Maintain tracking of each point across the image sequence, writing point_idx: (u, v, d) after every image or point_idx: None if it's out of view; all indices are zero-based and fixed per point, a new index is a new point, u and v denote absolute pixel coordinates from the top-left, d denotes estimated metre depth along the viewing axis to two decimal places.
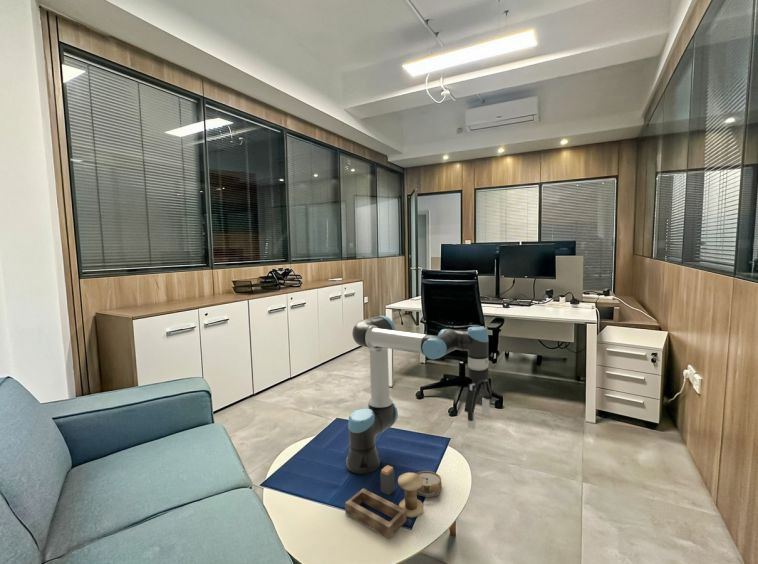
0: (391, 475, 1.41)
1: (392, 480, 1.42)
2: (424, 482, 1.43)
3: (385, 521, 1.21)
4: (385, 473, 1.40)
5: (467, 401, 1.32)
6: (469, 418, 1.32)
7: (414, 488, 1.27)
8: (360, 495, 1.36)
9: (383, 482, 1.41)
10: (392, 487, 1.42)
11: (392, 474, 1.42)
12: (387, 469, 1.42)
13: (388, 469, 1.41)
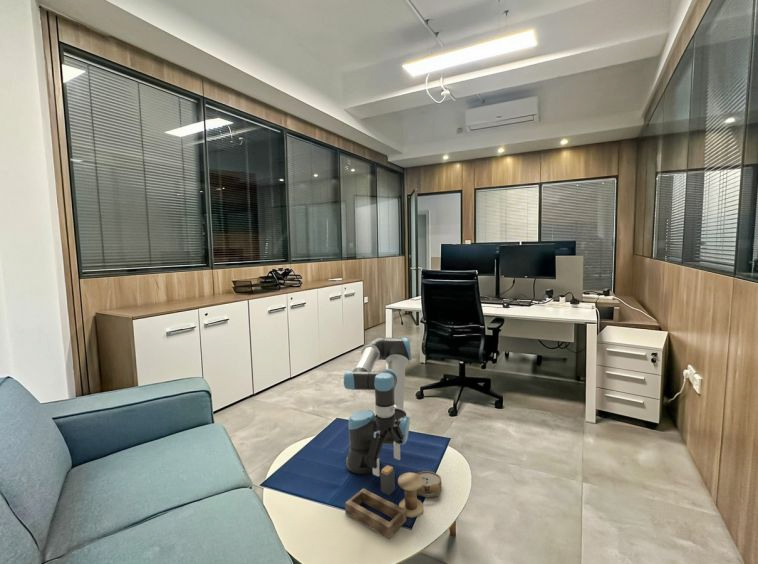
0: (391, 475, 1.41)
1: (392, 480, 1.42)
2: (424, 482, 1.42)
3: (385, 521, 1.21)
4: (385, 473, 1.40)
5: (370, 449, 1.35)
6: None
7: (414, 488, 1.27)
8: (360, 495, 1.36)
9: (383, 482, 1.41)
10: (392, 487, 1.42)
11: (392, 474, 1.42)
12: (387, 469, 1.42)
13: (388, 469, 1.41)
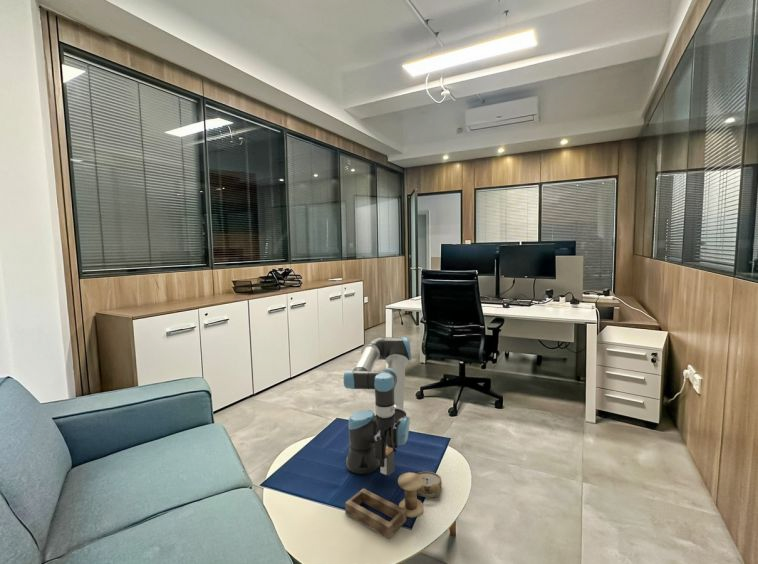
0: (391, 456, 1.41)
1: (392, 461, 1.41)
2: (424, 482, 1.42)
3: (385, 521, 1.21)
4: (385, 454, 1.40)
5: (376, 450, 1.38)
6: None
7: (414, 488, 1.27)
8: (360, 495, 1.36)
9: None
10: (392, 467, 1.42)
11: (392, 455, 1.41)
12: (386, 449, 1.41)
13: (388, 450, 1.41)
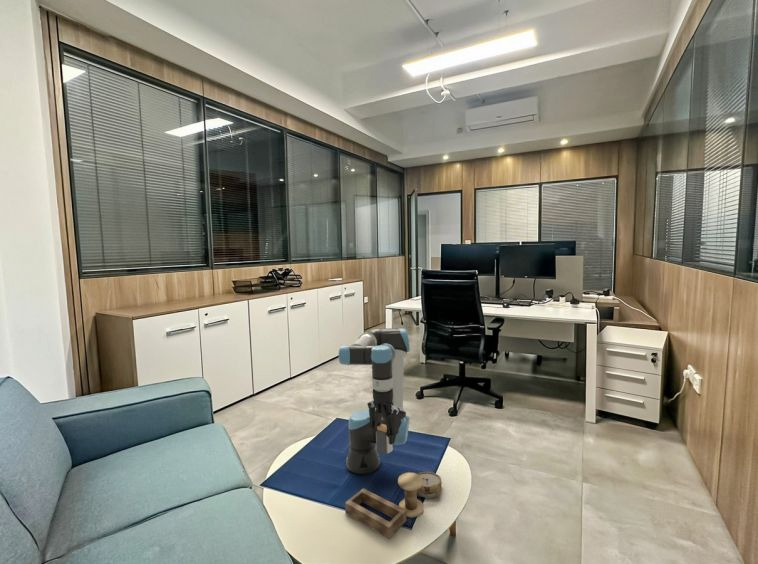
0: (380, 434, 1.32)
1: (382, 440, 1.32)
2: (425, 483, 1.42)
3: (385, 521, 1.21)
4: None
5: None
6: None
7: (414, 488, 1.27)
8: (360, 495, 1.36)
9: None
10: (382, 448, 1.32)
11: (382, 434, 1.32)
12: (382, 426, 1.34)
13: (382, 427, 1.33)
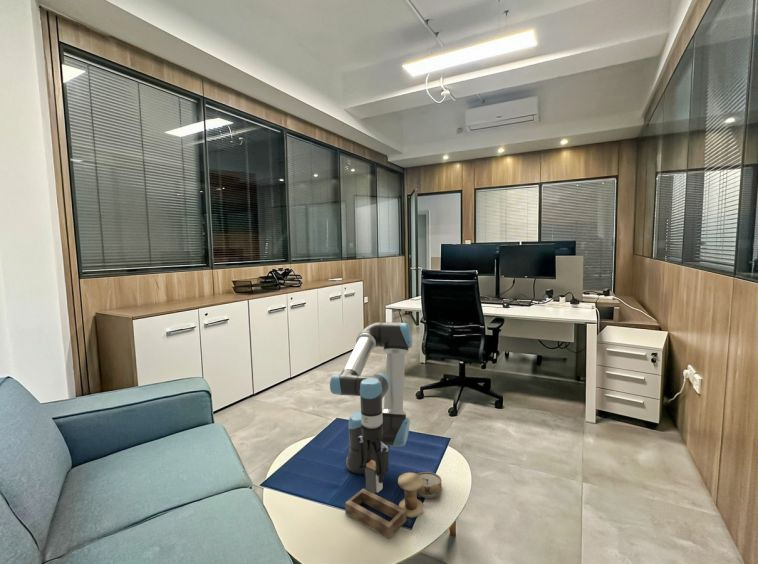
0: (369, 472, 1.26)
1: (371, 479, 1.25)
2: (425, 483, 1.42)
3: (385, 521, 1.21)
4: None
5: None
6: None
7: (414, 488, 1.27)
8: (360, 495, 1.36)
9: None
10: (371, 486, 1.26)
11: (371, 472, 1.25)
12: (372, 463, 1.27)
13: (371, 464, 1.27)
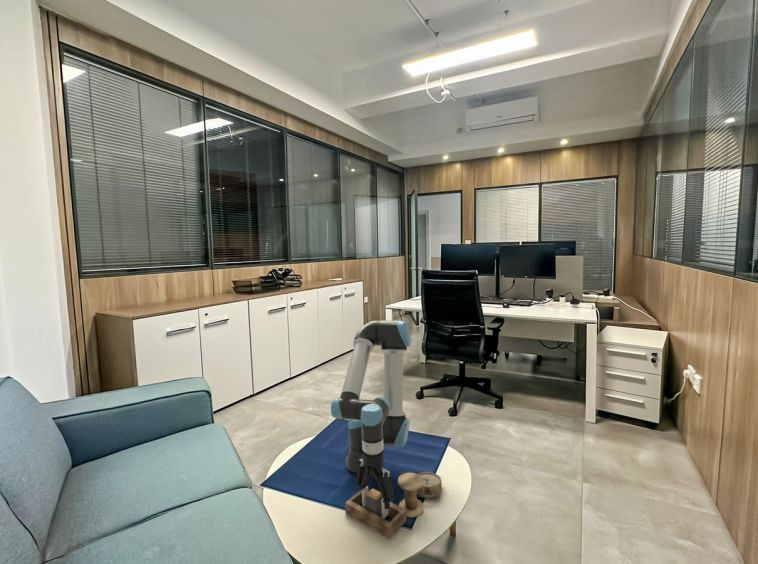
0: (370, 501, 1.27)
1: (372, 508, 1.26)
2: (425, 483, 1.42)
3: (385, 521, 1.21)
4: None
5: None
6: None
7: (414, 488, 1.27)
8: (360, 495, 1.36)
9: None
10: None
11: (372, 502, 1.26)
12: (373, 492, 1.28)
13: (372, 493, 1.28)
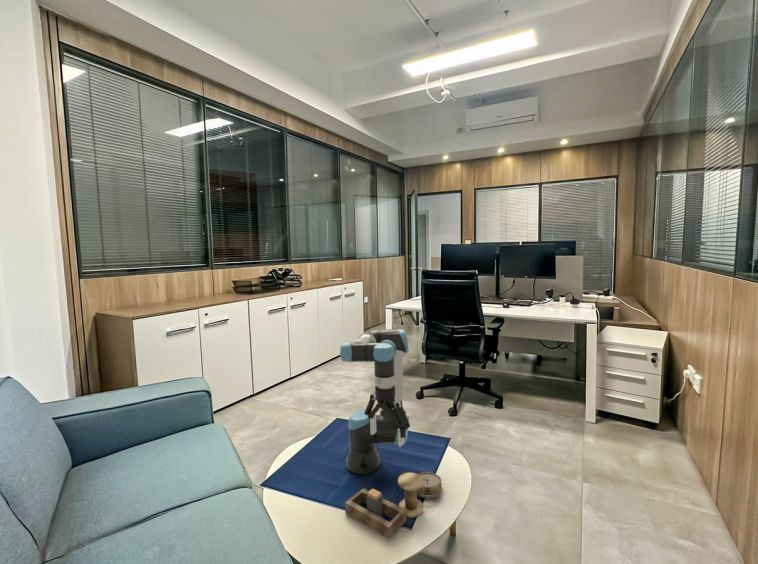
0: (370, 501, 1.27)
1: (372, 508, 1.26)
2: (425, 483, 1.42)
3: (385, 521, 1.21)
4: None
5: None
6: None
7: (414, 488, 1.27)
8: (360, 495, 1.36)
9: None
10: None
11: (372, 502, 1.26)
12: (373, 492, 1.28)
13: (372, 493, 1.28)
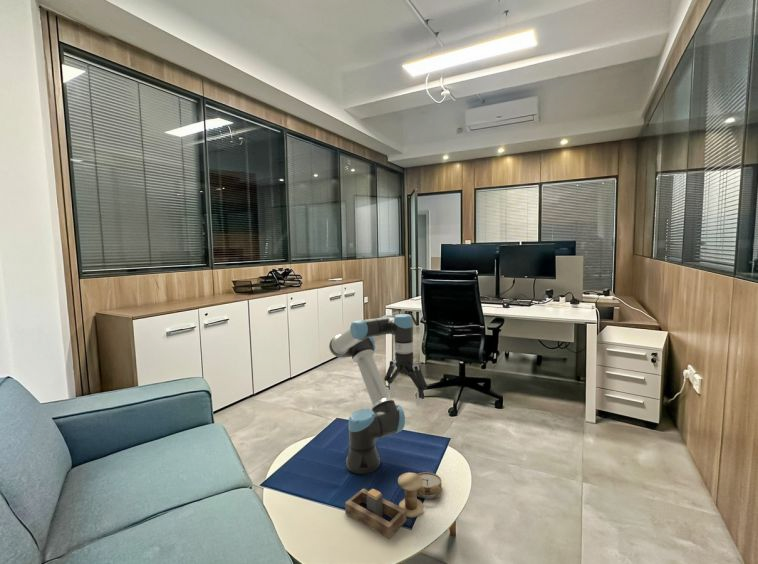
0: (370, 501, 1.27)
1: (372, 508, 1.26)
2: (425, 483, 1.42)
3: (385, 521, 1.21)
4: None
5: None
6: None
7: (414, 488, 1.27)
8: (360, 495, 1.36)
9: None
10: None
11: (372, 502, 1.26)
12: (373, 492, 1.28)
13: (372, 493, 1.28)
